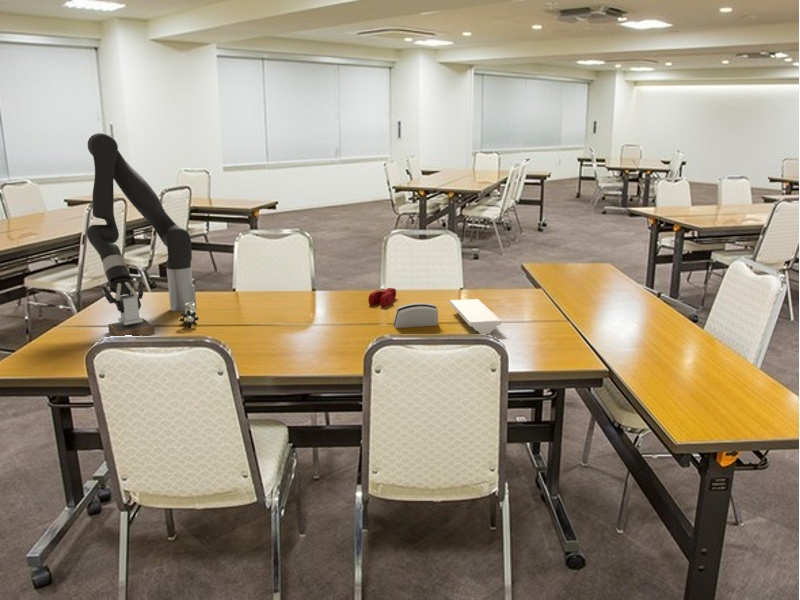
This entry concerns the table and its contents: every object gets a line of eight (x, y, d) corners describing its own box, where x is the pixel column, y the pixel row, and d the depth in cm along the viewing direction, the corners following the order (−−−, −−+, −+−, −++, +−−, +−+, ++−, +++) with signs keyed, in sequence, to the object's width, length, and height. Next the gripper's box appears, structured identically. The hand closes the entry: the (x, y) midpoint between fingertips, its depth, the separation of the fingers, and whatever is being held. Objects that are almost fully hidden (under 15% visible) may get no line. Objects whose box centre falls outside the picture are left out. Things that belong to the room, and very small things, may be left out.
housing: (136, 317, 232) (134, 293, 230) (142, 321, 228) (140, 297, 225) (118, 320, 228) (115, 296, 226) (124, 325, 224) (121, 300, 221)
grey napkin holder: (435, 321, 244) (438, 299, 238) (438, 328, 240) (441, 306, 234) (392, 323, 240) (394, 302, 235) (394, 331, 237) (396, 309, 231)
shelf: (469, 336, 227) (469, 322, 226) (449, 312, 256) (449, 300, 254) (500, 334, 229) (501, 320, 228) (477, 311, 258) (477, 298, 256)
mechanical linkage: (383, 308, 262) (383, 296, 260) (368, 306, 265) (368, 294, 263) (401, 299, 275) (401, 287, 274) (386, 297, 279) (386, 286, 277)
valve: (182, 319, 245) (180, 328, 234) (181, 303, 244) (178, 311, 232) (200, 318, 247) (199, 327, 236) (199, 301, 245) (197, 310, 234)
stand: (143, 325, 237) (142, 317, 236) (154, 333, 228) (153, 325, 227) (109, 332, 230) (108, 323, 229) (119, 340, 221) (118, 331, 220)
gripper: (96, 267, 224) (110, 307, 218) (138, 261, 233) (153, 300, 227) (93, 279, 229) (107, 319, 223) (135, 273, 238) (149, 311, 232)
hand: (130, 309), depth 225 cm, fingers closed on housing, 5 cm apart
